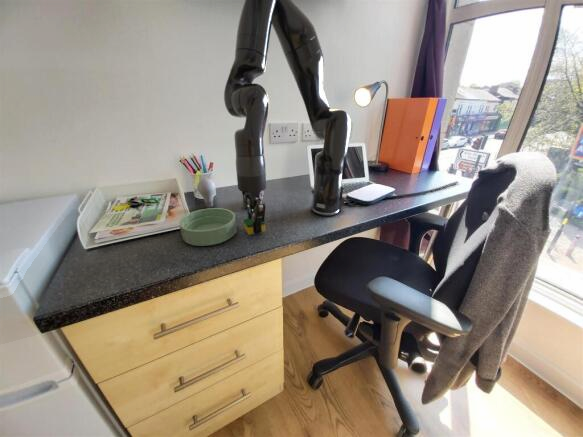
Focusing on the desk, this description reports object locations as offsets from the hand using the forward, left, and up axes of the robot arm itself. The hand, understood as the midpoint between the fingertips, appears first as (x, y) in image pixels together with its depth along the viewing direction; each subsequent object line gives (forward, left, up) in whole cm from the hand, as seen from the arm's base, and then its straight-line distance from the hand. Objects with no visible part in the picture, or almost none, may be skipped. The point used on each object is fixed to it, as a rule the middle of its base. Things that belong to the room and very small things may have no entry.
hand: (255, 229), depth 69 cm
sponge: (0, 0, 0) cm, 0 cm away
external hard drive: (-54, -9, -2) cm, 55 cm away
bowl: (+12, -6, -2) cm, 13 cm away
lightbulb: (+9, -26, -2) cm, 27 cm away
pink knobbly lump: (-7, -22, -2) cm, 23 cm away
